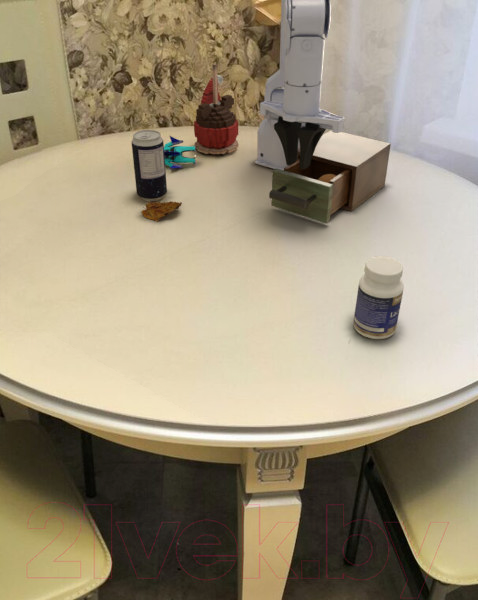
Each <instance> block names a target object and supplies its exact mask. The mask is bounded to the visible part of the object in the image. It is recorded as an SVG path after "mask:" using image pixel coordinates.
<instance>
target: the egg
mask: <svg viewBox="0 0 478 600" xmlns="http://www.w3.org/2000/svg"><path fill="white" fill-rule="evenodd" d="M334 177H336V175H334V174H326V175H323V176H321V177H320V178H319V179H318V180H319V181H322V182H326V183H329V181H330V180H331V179H333V178H334Z"/></svg>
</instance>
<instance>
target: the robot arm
mask: <svg viewBox="0 0 478 600" xmlns="http://www.w3.org/2000/svg"><path fill="white" fill-rule="evenodd" d="M280 3H281V5H280V7H281V8H280V39H279V40H280V41H279V44H280V45H279V68H278V70H277V71H276V72H275V73H273V74H272V75H271V76H269V77H267V79H266V82H265V86H264V87H265V88H264V94H263V95H264V96H263V98H264V99H263V101H261V102H260V103H259V115H260V116H263V117H264V118H263V119H262V121H261V122H260V123H259V126H258V128H257V138H256V139H257V140H256V141H257V143H256V144H257V145H256V146H257V147H256V160H255V161H254V164H256V165H259V166H263V167H265V168H269V169H273V170H274V169H276V168H277V169H280V170H284V168H285V167H286V166H288V165H289V166H290V165H292V164H294V163H295V162H296V160H297V154H298V149H299V148H300V169H306V168H307V167H309V166H310V163H311V159H312V156H313V153H314V151H315V148H316V146H317V144H318V142H319V140H320V138H321V137H322V135H324V134H325V133H326V130H328V131H331V130H332V132H334V133H339V132H343V131H344V130H345V121H346V118H345V116H340V115H337V114H334V113H332V112H329V111H327V110H325V109H322V108H321V96H322V82H323V70H324V69H323V68H324V56H325V55H324V54H325V43H326V42H325V41H326V39H328V36H329V33H330V27H331V20H332V19H331V18H332V5H331V4H332V3H331V0H281V2H280Z"/></svg>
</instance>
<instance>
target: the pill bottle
mask: <svg viewBox="0 0 478 600" xmlns="http://www.w3.org/2000/svg"><path fill="white" fill-rule="evenodd" d="M364 264H365V265H364V268H363V269H364V271H363V272H364V273H363V274H362V275H361V276H360V277H359V281H358V287H357V295H356V300H355V307H354V308H355V309H354V314H353V323H352V324H353V327H354V329H355V331H356V332H357V333H358V334H360V335H361V336H363V337H366V338H368V339H373V340H384V339H387V338H390V337H391V336H393V335H394V334H395V333H396V331H397V326H398V320H399V316H400V309H401V305H402V299H403V295H404V282H403V280H402V278H403V272H404V266H403V264H402V263H401V262H400V261H399V260H398V259H396V258H393V257H389V256H385V255H384V256H383V255H381V256H380V255H379V256H372V257H369V258H368V259H367V260H366V262H365V263H364Z"/></svg>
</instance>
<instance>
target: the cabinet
mask: <svg viewBox="0 0 478 600" xmlns="http://www.w3.org/2000/svg"><path fill="white" fill-rule="evenodd" d="M391 145H392V144H391V143H390V142H385V141H381V140H377V139H372V138H369V137H364V136H360V135H356V134H351V133H347V132H343V131H341V132H339V133H334V132H332V130H328V131H327V132H324V133H323V135H322V137H321V138H320V140H319V142H318V144H317V146H316V148H315V151H314V153H313V156H312V159H313V160H317V161H321V162H324V163H328V164H332V165H335V166H339V167H343V168H347V169H350V170H352V178H351V187H350V196H349V202H347V203H346V204H345V205H343V206H342V207H341V208H340V209H342V210H346V211H348V212H353V211H355V210H356V209H357V208H358V207H359V206H361V205H363V203H365V202H367V200H369V199H370V198H371V197H372V196H374V195H375V194H376V193H378V192H379V191H381V190H382V189H383V188H384V187H385V186H386V179H387V174H388V165H389V158H390V152H391V147H392V146H391ZM298 159H300V148H299V149H298V154H297V160H298ZM297 160H296V161H297Z"/></svg>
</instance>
